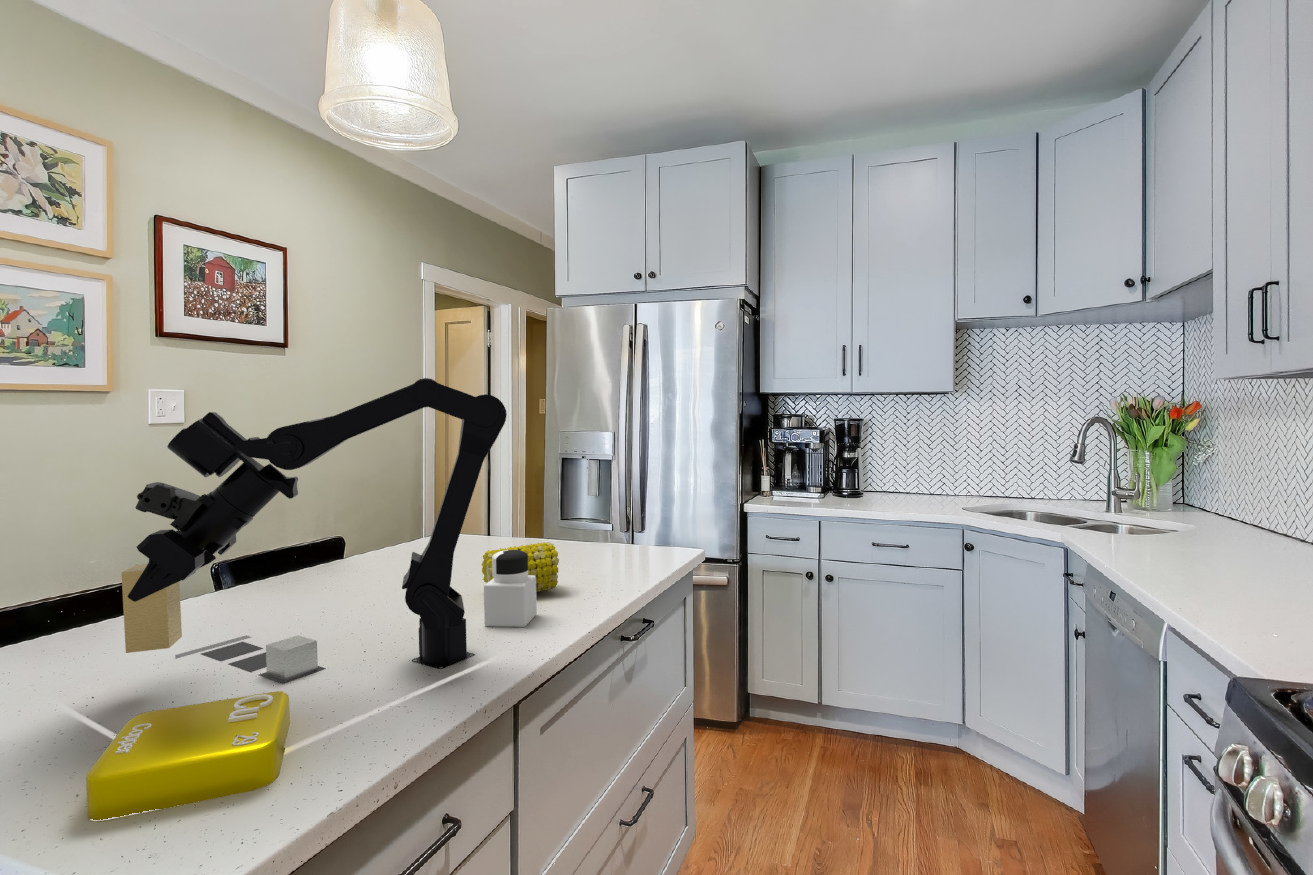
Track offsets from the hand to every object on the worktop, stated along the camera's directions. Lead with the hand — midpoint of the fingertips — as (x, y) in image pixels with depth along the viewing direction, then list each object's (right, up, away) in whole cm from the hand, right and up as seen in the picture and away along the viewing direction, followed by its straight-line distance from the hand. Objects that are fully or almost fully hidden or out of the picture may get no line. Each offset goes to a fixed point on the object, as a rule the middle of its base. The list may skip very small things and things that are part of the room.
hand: (139, 594), depth 83 cm
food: (+38, -12, +47) cm, 62 cm away
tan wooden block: (+1, -7, +1) cm, 7 cm away
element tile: (+19, -14, -16) cm, 28 cm away
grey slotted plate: (+7, -13, +12) cm, 19 cm away
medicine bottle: (+40, -12, +31) cm, 52 cm away
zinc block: (+15, -12, +8) cm, 21 cm away
